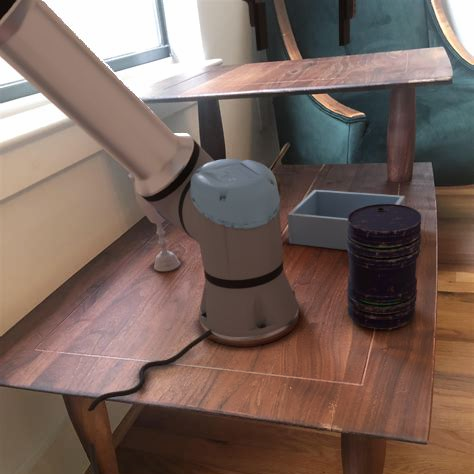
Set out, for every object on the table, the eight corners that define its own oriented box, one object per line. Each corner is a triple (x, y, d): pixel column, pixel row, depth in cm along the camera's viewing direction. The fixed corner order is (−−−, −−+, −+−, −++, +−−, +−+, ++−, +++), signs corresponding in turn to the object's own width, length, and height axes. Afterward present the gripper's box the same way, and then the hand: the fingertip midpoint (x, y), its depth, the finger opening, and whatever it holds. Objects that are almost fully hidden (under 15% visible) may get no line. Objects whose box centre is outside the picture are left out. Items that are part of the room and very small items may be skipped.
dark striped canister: (422, 327, 77) (430, 228, 69) (351, 331, 78) (351, 234, 70) (407, 292, 85) (413, 200, 77) (343, 296, 86) (343, 206, 78)
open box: (384, 254, 98) (385, 223, 95) (289, 243, 106) (287, 214, 103) (403, 225, 108) (405, 195, 105) (315, 216, 116) (314, 189, 113)
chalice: (192, 259, 105) (176, 166, 96) (174, 275, 100) (156, 179, 91) (160, 255, 108) (142, 165, 99) (141, 271, 103) (120, 178, 94)
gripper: (395, -145, 70) (389, 38, 81) (227, -109, 82) (242, 47, 93) (378, -151, 65) (374, 46, 76) (201, -112, 76) (220, 54, 87)
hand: (302, 47), depth 84 cm, fingers open, 13 cm apart
